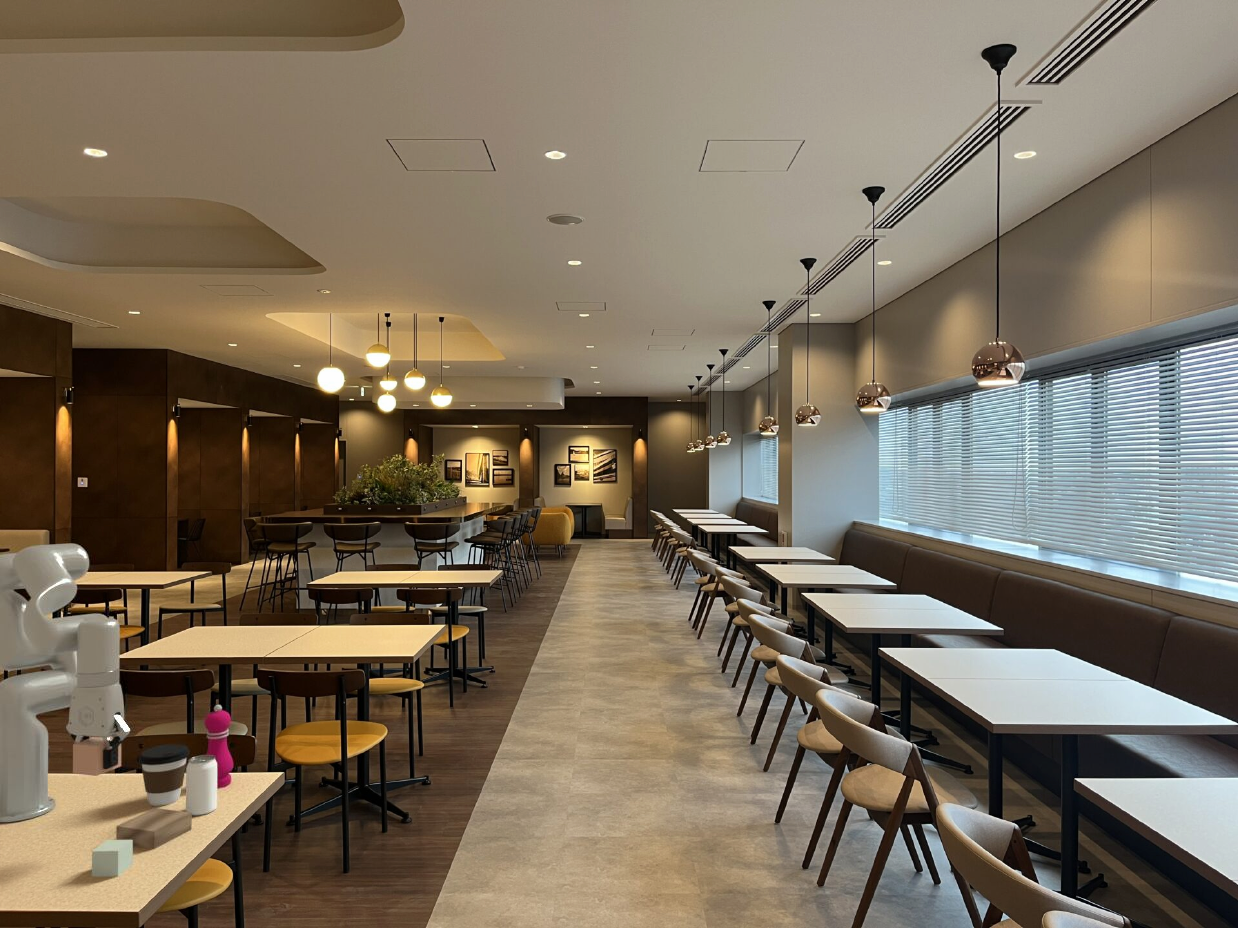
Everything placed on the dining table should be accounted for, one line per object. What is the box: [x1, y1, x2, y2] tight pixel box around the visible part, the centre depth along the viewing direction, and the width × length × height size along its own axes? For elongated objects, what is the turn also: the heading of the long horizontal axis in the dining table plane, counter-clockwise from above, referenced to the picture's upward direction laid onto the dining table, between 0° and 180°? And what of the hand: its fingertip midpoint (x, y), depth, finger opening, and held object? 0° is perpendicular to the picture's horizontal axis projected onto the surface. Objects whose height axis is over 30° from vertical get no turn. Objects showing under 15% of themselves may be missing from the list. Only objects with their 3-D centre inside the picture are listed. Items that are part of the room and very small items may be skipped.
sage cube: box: [91, 839, 134, 878], centre depth 162 cm, size 5×5×5 cm
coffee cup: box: [138, 743, 191, 807], centre depth 197 cm, size 11×11×12 cm
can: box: [185, 754, 218, 817], centre depth 191 cm, size 6×6×12 cm
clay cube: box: [72, 736, 122, 777], centre depth 171 cm, size 6×6×6 cm
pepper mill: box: [204, 704, 234, 789], centre depth 208 cm, size 7×7×20 cm
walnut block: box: [115, 807, 193, 850], centre depth 178 cm, size 10×10×4 cm
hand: (97, 764), depth 171 cm, fingers closed on clay cube, 6 cm apart
